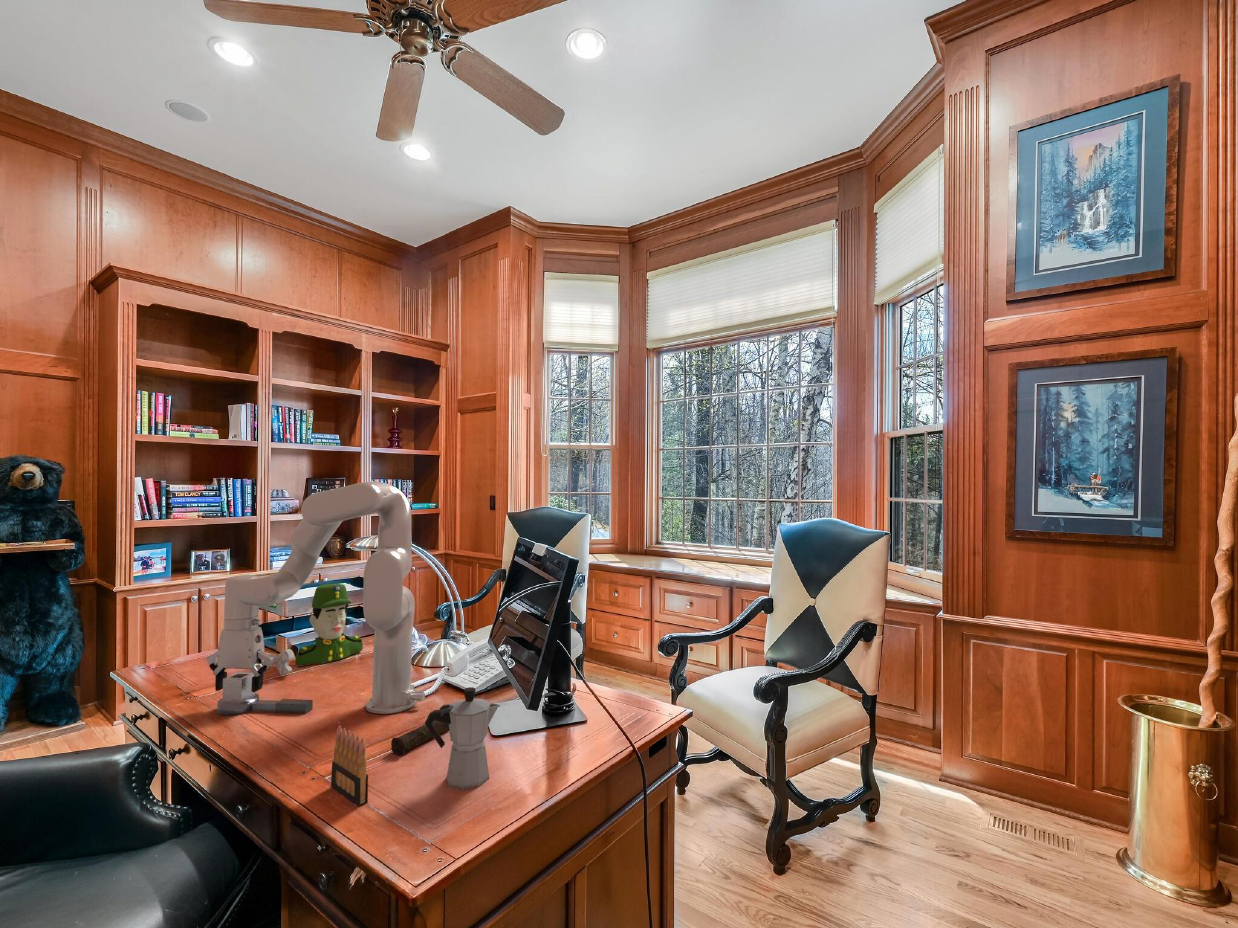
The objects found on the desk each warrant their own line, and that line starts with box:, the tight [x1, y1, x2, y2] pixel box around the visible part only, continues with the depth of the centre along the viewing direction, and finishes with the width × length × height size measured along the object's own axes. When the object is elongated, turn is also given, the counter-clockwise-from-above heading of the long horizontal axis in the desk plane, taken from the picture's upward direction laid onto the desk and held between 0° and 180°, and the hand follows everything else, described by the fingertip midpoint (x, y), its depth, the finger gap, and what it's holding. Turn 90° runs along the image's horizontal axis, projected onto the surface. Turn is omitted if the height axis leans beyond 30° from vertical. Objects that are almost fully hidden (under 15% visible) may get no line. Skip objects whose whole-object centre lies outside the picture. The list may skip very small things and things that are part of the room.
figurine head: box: [294, 583, 364, 667], centre depth 189 cm, size 22×12×25 cm, turn 143°
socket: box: [221, 671, 256, 703], centre depth 148 cm, size 5×5×6 cm
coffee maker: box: [424, 686, 501, 790], centre depth 115 cm, size 15×9×18 cm, turn 112°
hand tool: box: [390, 721, 450, 757], centre depth 133 cm, size 19×4×5 cm, turn 149°
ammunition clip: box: [330, 724, 369, 807], centre depth 109 cm, size 11×2×12 cm, turn 52°
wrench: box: [262, 648, 296, 677], centre depth 179 cm, size 8×2×30 cm
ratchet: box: [216, 692, 314, 717], centre depth 148 cm, size 24×9×6 cm, turn 87°
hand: (238, 689), depth 148 cm, fingers open, 9 cm apart
